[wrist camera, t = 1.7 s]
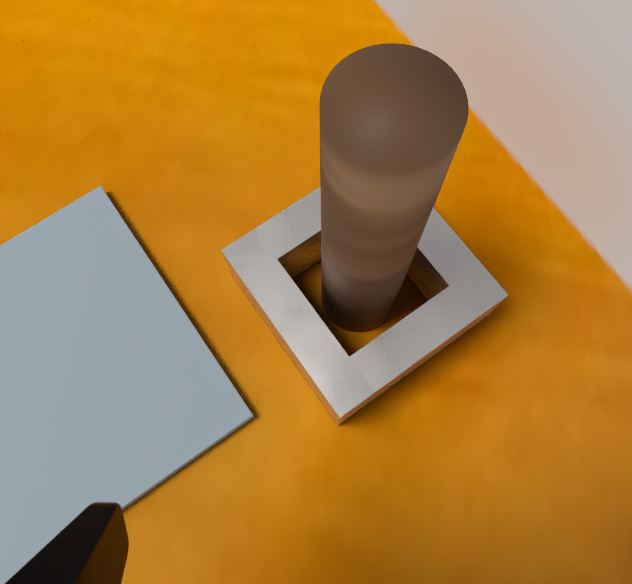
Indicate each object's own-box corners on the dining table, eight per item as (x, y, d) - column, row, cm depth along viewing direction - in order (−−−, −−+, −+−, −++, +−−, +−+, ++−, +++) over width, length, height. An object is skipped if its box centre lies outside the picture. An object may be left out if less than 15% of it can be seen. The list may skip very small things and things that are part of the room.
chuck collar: (486, 317, 24) (508, 295, 21) (337, 425, 22) (339, 417, 20) (375, 184, 26) (381, 147, 23) (233, 277, 24) (220, 250, 22)
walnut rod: (408, 304, 24) (499, 118, 12) (350, 346, 23) (379, 197, 11) (365, 250, 25) (406, 20, 12) (307, 289, 24) (291, 90, 12)
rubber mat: (254, 416, 23) (252, 415, 22) (-28, 616, 21) (-38, 620, 20) (105, 192, 26) (100, 185, 25) (-153, 346, 24) (-165, 343, 23)
